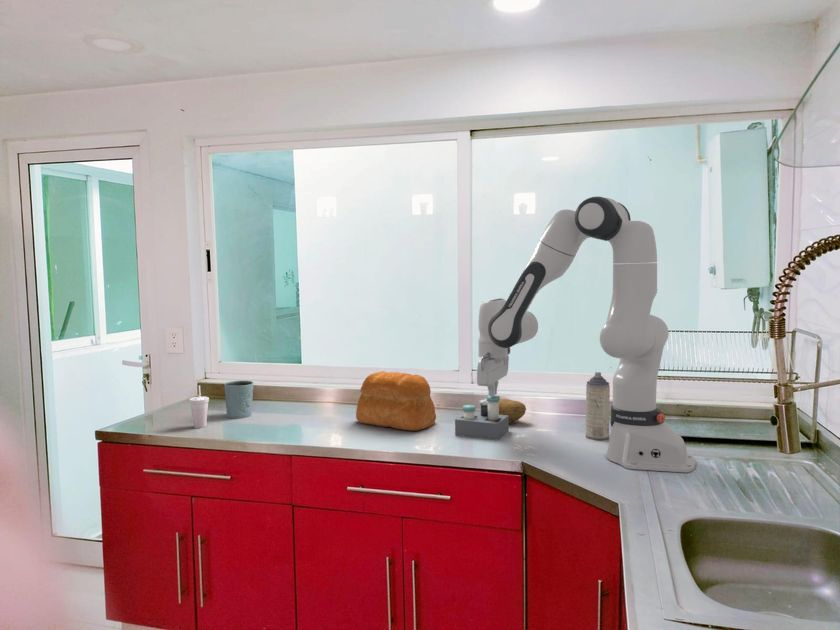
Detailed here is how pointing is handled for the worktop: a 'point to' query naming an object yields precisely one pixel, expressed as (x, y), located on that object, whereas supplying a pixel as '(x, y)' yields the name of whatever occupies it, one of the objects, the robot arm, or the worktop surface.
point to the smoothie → (199, 410)
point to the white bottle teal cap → (493, 407)
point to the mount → (482, 425)
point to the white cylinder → (469, 411)
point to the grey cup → (239, 399)
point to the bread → (396, 401)
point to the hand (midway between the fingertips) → (492, 395)
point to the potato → (511, 409)
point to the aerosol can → (597, 408)
